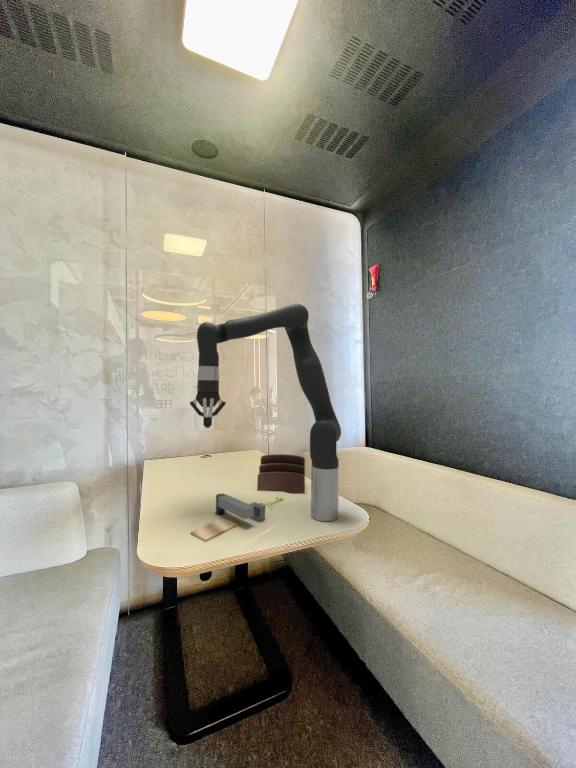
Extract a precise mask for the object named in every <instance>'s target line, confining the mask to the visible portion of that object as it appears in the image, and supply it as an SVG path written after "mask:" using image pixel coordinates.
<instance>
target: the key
mask: <svg viewBox="0 0 576 768" xmlns="http://www.w3.org/2000/svg"><path fill="white" fill-rule="evenodd" d="M283 500H284V498H283V496H276V497H275V500H273V501H269V502H268V503H267V502H259V503H258V502H257V503H258V504H261V505H264V506H267V507H269V509H268V511H272V510H273V509H274V507H273V505H275V504H277V503H279V502H281V501H283Z"/></svg>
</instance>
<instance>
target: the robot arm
mask: <svg viewBox="0 0 576 768" xmlns="http://www.w3.org/2000/svg"><path fill="white" fill-rule="evenodd" d="M309 317H310V316H309V311H308V309H307V307H305V306H304V305H303V304H301V303H292V304H289V305H286V306H283V307H280V308H277V309H274V310H271V311H267V312H263V313H260V314H256V315H250V316H246V317H244V316H243V317H239V318H234V319H230V320H229V319H228V320H226V321H225V322H224V323H219V324H214V323H212V322H210V321H206V322H205V321H204V322H202V323H200V325H199V326H198V327H197V332H196V339H197V340H196V341H197V348H198V368H197V369H198V370H197V377H196V378H197V385H196V386H197V387H196V388H197V389H196V390H197V391H196V396H195V399H193V400H190V402H189V404H190V406H191V407H192V408H193V410H194V412H196V414H197V415H199V416H201V417H203V422H202V424H203V427H204V428H206V429H207V428H208V429H209V428H210V427H212V425H213V424H212V423H213V420H212V419H213V417H215V416H217V415H218V414H219V413H220V412H221V410H222V409H223V408H224V407H225V405H226V403H227V402H226V401H224V400H223V399H221V395H220V394H219V393H220V364H219V363H220V356H219V352H218V344H221V343H222V344H223V343H224V342H228V341H230V340H231V341H232V340H238V339H239V340H240V339H244V338H249V337H253V336H255V335H258V334H260V333H263V332H267V331H269V330H273V329H277V328H284V330H285V332H286V335H287V338H288V340H289V342H290V346H291V349H292V354H293V362H294V366H295V370H296V375H297V378H298V382H299V386H300V388H301V390H302V393H303V394H304V396H305V398H306V399H307V401H308V402H309V405H310V406H311V408H312V412H313V415H314V419H315V420H314V421H315V422H314V423H313V424H312V426H311V428H310V431H309V455H310V456H309V457H310V459H311V478H310V479H311V481H310V482H311V483H310V484H311V485H310V487H311V488H310V517H311V518H312V519H314V520H316V521H320V522H332V521H333V522H334V521H335V520H336V518H337V519H338V514H339V469H340V468H339V463H340V460H339V458H338V457H337V456H338V454H337V442H338V441H339V440H340V438H341V436H342V428H341V425H340V422H339V420H338V418H337V415H336V413H335V410H334V408H333V405H332V401H331V397H330V393H329V388H328V385H327V381H326V377H325V373H324V370H323V366H322V363H321V360H320V358H319V356H318V355H317V352H316V350H315V348H314V346H313V345H312V341H311V337H310V333H309V332H310V331H309V327H308V326H309V325H308V322H309ZM217 404H218V406H217V407H216V409H215V410H214V407H215V406H216V405H217ZM197 405H200V407H202V411H201V409H199V407H198V406H197Z"/></svg>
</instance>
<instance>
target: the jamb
mask: <svg viewBox="0 0 576 768" xmlns="http://www.w3.org/2000/svg"><path fill="white" fill-rule="evenodd" d="M249 504H250V505H252V506H254V516H252V517H250V518H249V519H251V520H254V521H256V522H258V523H261V522H263V521H265V520H266V505H263V504H258V502H256V501H253V502H251V503H249Z"/></svg>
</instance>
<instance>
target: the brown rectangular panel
mask: <svg viewBox="0 0 576 768" xmlns="http://www.w3.org/2000/svg"><path fill="white" fill-rule="evenodd" d="M237 527H238V523H236V522H233V521H232V520H230V519H226V518H223V517H221V518H218V519H216V520H214V521H212V522H210V523H207V524H205V525H203V526H201V527H198V528H196V529H193V530H192V531H190V535H192V536H193V537H195V538H197V539H200V540H201V541H203V542H205V543H207V542H209V541H211V540H212V539H215V538H216V537H219V536H221V535H223V534H225V533H226V532H228V531H230V530H233V529H235V528H237Z"/></svg>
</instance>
